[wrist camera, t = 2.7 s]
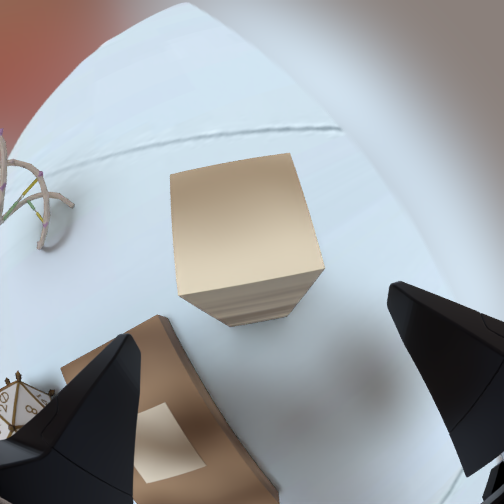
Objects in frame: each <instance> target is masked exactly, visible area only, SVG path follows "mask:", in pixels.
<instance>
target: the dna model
mask: <svg viewBox="0 0 504 504" xmlns="http://www.w3.org/2000/svg"><path fill="white" fill-rule="evenodd" d="M2 132H3V128H2V129H0V151H1V162H0V168H1V173H0V225H1V224H2V223H4V221H5V220H6V219H7V218H8V217H9V216H10V215H12V214H13V213H14V212H15V211H16V210H18V209H19V208H20V207H21V206H23V205H24V204H25V203H28V204H29V205H30V207H31V208H32V209H33V210H35V207H34V206H33V205H32V203H31V202H30V201H31V200H34V199H37V198H41V197H43V199H44V217H43V218H42V217H41V215H40V214H39V213H38V212H36V210H35V212H36V215H37V216H38V217H39V219H40V220H41V221H42V223H43V229H42V234H41V238H40V241H39V242H37V249H38V250H40V249H41V248H42V246H43V245H44V242H45V238H46V235H47V231H48V225H49V219H50V207H49V198H56V199H60V200H61V201H63V202H64V203H65V204H67V205H68V206H69V207H71V208H73V207H74V204H73V203H72V202H70V201H69V200H68V199H67V198H65V197H64V196H62V195H61V194H60V193H54V192H48V190H47V187H46V184H45V181H44V178H43V172H42V171H39V170H38V169H37V168H35V167H34V166H33V165H32V164H29V163H26V162H22V161H18V160H15V159H11V160H7V150H6V142H5V140H4V138H3V136H2ZM7 166H20V167H23V168H26V169H28V170H29V171H31V172H32V173H33V174H34V175H35V176H36V177H37V178H36V179H35V180H34V181H33V182H32V183H31V185H30V186H29V187H28V188H27V189H26V190H25V191H24V192H23V193H22V195H23V197H24V195H25V194H26V193H27V192H28V191H29V190H30V189H31V188H32V187H33V186H34V184H35V183H36V182H37V181H38V182H39V184H40V187H41V191H42V192H41V193H37V194H34V195H31V196H29V197H27V198H25V199H24V200H22V201H21V202H19V201H20V200H21V199H22V198H23V197H22V198H21V196H22V195H21V196H20V198H19V199H18V200H17V201H16V202H15V203H14V204H13V206H12V207H11V208H9V210H8V212H6V213H5V214H4V215H3V216H2V212H3V205H4V196H5V188H6V182H7Z"/></svg>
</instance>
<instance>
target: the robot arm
mask: <svg viewBox="0 0 504 504" xmlns="http://www.w3.org/2000/svg"><path fill="white" fill-rule="evenodd" d="M387 307H388V310H389V312H390V314H391V317H392V319H393V321H394V323H395V325H396V328H397V330H398V332H399V334H400V337H401V339H402V341H403V343H404V345H405V347H406V348H407V350H408V352H409V354H410V356H411V357H412V359H413V361H414V363H415V365H416V367H417V368H418V370H419V372H420V374H421V376H422V378H423V380H424V382H425V384H426V386H427V388H428V390H429V392H430V394H431V396H432V398H433V400H434V402H435V404H436V406H437V408H438V410H439V412H440V414H441V416H442V419H443V421H444V423H445V425H446V428H447V430H448V432H449V435H450V437H451V439H452V442H453V444H454V447H455V449H456V452H457V454H458V457H459V459H460V462H461V464H462V467H463V470H464V473H465V475H466V477H469V476H471V475H472V474H474V473H475V472H477V471H478V470H480V469H481V468H482V467H484V466H485V465H487V464H488V463H490V462H491V461H492V460H494V459H495V458H496V457H498V456H499V455H501V457H502V459H503V460H501V461H500V462H499V463H498V464H497V465H496V466H495V467H493V468H492V469H491V472H490V475H489V479H488V482H487V485H486V488H485V491H484V494H483V496H482V498H483V500H484V502H482V503H481V504H504V322H502V321H500V320H497V319H495V318H492V317H490V316H487V315H485V314H482V313H481V314H480V313H479V312H477V311H475V310H473V309H470V308H468V307H465V306H463V305H460V304H458V303H456V302H453V301H451V300H448V299H446V298H443V297H441V296H438V295H435V294H433V293H430V292H428V291H425V290H423V289H420V288H418V287H415V286H412V285H410V284H407V283H405V282H402V281H398V282H395V283H392V284H391V285H390V287H389V293H388V299H387ZM140 379H141V352H140V349H139V347H138V345H137V344H136V342H135V340H134V338H133V337H132V335H131V334H129V333H126V334H119V335H118V336H117V337H116V338H115V339H114V340H113V341H112V342H111V343H110V344H108V345H107V346H106V347H105V348H104V349H103V350H102V351H101V352H100V353H99V354H98V355H97V356H96V357H95V358H94V359H93V360H92V361H91V362H90V363H89V364H88V365H87V366H86V367H85V368H83V369H82V370H81V371H80V372H79V373H78V374H77V375H76V376H75V377H74V378H73V379H72V380H71V381H70V382H69V383H68V384H67V385H66V386H65V387H64V388H63V389H62V390H61V391H60V392H59V393H58V396H57V395H56V396H55V397H54V398H53V399H52V400H51V401H50V402H49V403H48V404H47V405H46V406H45V407H44V408H43V409H42V410H41V411H40V412H39V413H37V414H36V415H35V416H34V417H33V418H32V419H31V420H30V421H28V422H27V423H26V424H25V425H24V426H23V427H22V428H20V429H19V430H18V431H17V432H16V433H15V434H13V435H12V436H11V437H9V438H6V439H3V440H0V504H133V497H132V496H133V473H134V453H135V439H136V427H137V417H138V407H139V399H140Z"/></svg>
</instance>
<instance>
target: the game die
mask: <svg viewBox="0 0 504 504" xmlns="http://www.w3.org/2000/svg"><path fill="white" fill-rule="evenodd" d="M15 374H16V379H17V381H15V382H12V383H10V381H9V379H8V378H6V380H5V382H6V384H7V385H6V386H5V387H3V388H1V389H0V440H3V439H6V438H9V437H11V436H12V435H13V434H15V433H16V432H17V431H18V430H19V429H20V428H22V427H23V426H24V425H25V424H26V423H27V422H28V421H30V420H31V419H32V418H33V417H34V416H35V415H36V414H37V413H39V412H40V411H41V410H42V409H43V408H44V407H45V406H46V405H47V404H48V403H49V402H50V401H51V400H52V399H51V396H53V395H54V390H50V391H49V393H48V394H47V393H44V392H42V391H40V390H38V389H36V388H34V387H32V386H30V385H28V384H26V383H24V382H22V381H21V379H22V378H21V374H20V373H19V371H17V373H15Z"/></svg>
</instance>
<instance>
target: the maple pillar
mask: <svg viewBox="0 0 504 504" xmlns="http://www.w3.org/2000/svg"><path fill="white" fill-rule="evenodd" d="M170 194H171V217H172V233H173V247H174V259H175V270H176V281H177V290H178V296H180V297H181V298H183V299H184V300H186V301H188V302H189V303H191V304H192V305H194V306H196V307H197V308H199V309H201V310H202V311H204V312H205V313H207V314H209V315H210V316H212V317H214V318H216V319H217V320H219V321H221V322H222V323H224V324H226V325H227V326H229V327H234V326H240V325H245V324H251V323H256V322H262V321H267V320H272V319H277V318H282V317H287V316H288V315H289V313H290V312H291V311H292V310H293V309H294V307H295V306H296V305H297V304H298V302H299V301H300V300H301V299H302V297H303V296H304V295H305V294H306V292H307V291H308V290H309V288H310V287H311V286H312V285H313V283H314V282H315V281H316V279H317V278H318V277H319V276H320V274H321V273H322V272H323V270H324V269H325V266H324V263H323V259H322V255H321V252H320V248H319V244H318V241H317V237H316V234H315V230H314V227H313V223H312V220H311V217H310V213H309V210H308V207H307V204H306V200H305V197H304V194H303V191H302V188H301V185H300V182H299V179H298V176H297V173H296V170H295V167H294V164H293V161H292V158H291V155H290V153H285V154H277V155H270V156H263V157H257V158H251V159H245V160H239V161H233V162H228V163H222V164H217V165H212V166H207V167H202V168H197V169H193V170H188V171H184V172H179V173H175V174H171V175H170Z"/></svg>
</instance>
